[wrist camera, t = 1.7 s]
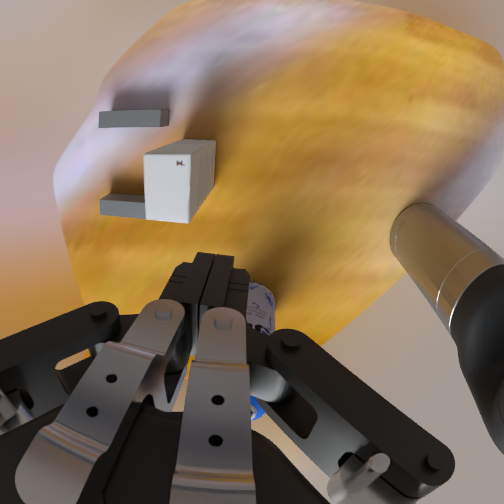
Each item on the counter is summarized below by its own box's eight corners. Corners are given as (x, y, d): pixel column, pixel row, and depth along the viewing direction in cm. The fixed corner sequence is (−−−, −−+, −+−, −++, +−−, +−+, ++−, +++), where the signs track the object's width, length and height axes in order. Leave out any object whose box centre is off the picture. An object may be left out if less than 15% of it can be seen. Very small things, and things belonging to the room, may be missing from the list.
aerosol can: (284, 290, 41) (291, 412, 23) (265, 330, 45) (261, 447, 27) (229, 273, 40) (203, 393, 22) (215, 316, 44) (189, 432, 26)
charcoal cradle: (169, 109, 31) (160, 109, 29) (165, 212, 37) (157, 220, 34) (111, 111, 31) (99, 111, 28) (111, 207, 37) (100, 214, 34)
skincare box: (181, 138, 33) (142, 151, 22) (217, 139, 33) (192, 152, 22) (180, 187, 35) (143, 220, 25) (214, 189, 35) (190, 224, 25)
